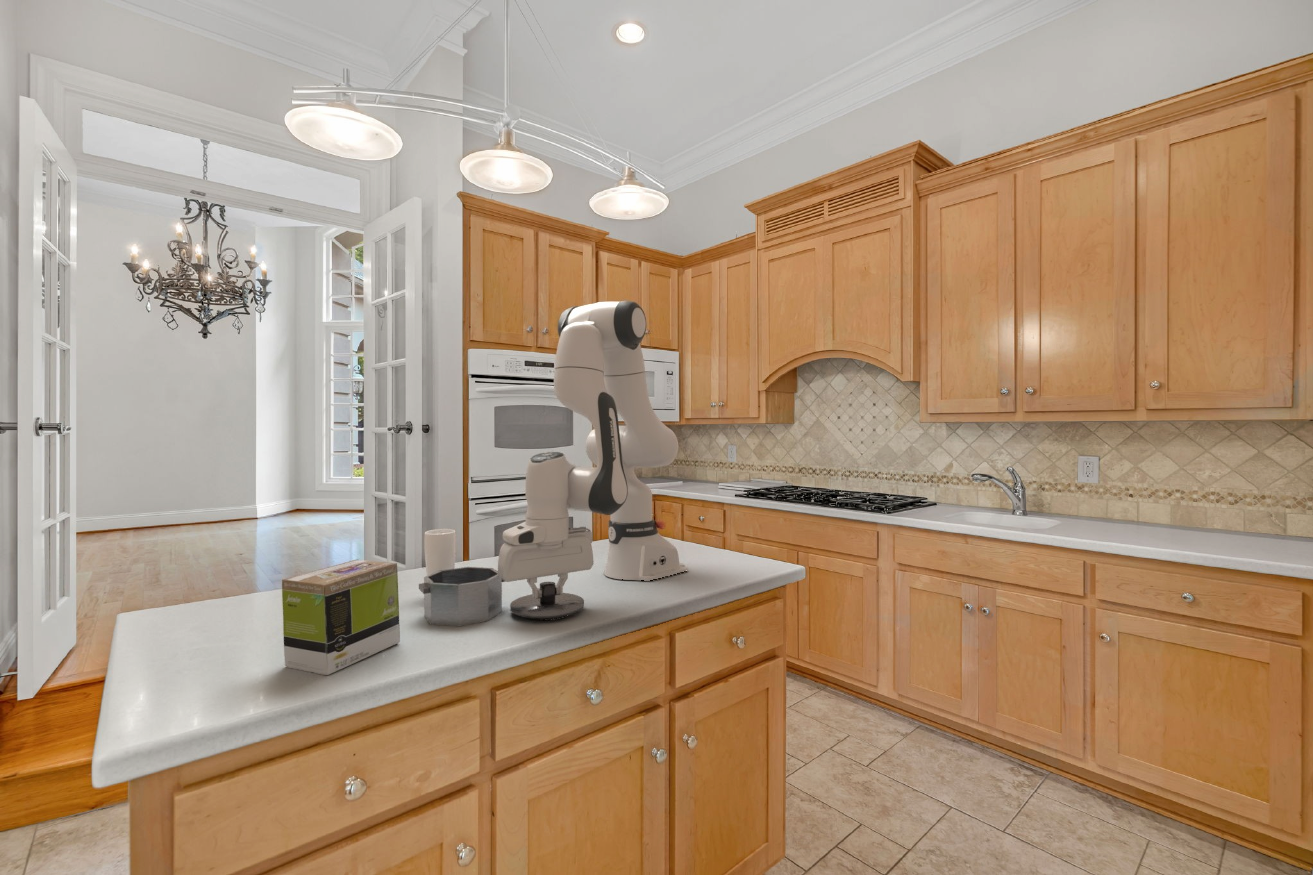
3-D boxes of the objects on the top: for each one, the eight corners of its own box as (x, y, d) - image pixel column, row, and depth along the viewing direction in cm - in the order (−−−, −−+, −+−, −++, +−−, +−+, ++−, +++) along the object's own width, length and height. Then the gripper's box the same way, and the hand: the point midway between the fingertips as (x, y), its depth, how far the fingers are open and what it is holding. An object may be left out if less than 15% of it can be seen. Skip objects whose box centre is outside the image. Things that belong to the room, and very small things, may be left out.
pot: (492, 598, 132) (491, 563, 132) (514, 615, 121) (514, 577, 120) (413, 611, 123) (413, 573, 123) (429, 631, 111) (429, 589, 111)
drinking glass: (461, 593, 137) (460, 529, 137) (448, 601, 130) (447, 534, 130) (433, 592, 138) (433, 528, 137) (419, 601, 131) (418, 533, 131)
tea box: (359, 636, 109) (358, 557, 109) (401, 644, 105) (400, 561, 105) (281, 668, 95) (280, 576, 95) (326, 677, 91) (325, 582, 91)
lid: (565, 597, 134) (565, 571, 134) (596, 615, 121) (596, 586, 121) (500, 608, 125) (499, 580, 125) (526, 629, 113) (526, 598, 112)
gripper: (585, 523, 131) (585, 585, 131) (494, 532, 120) (495, 600, 120) (598, 527, 126) (598, 592, 126) (505, 537, 115) (505, 608, 115)
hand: (547, 596), depth 123 cm, fingers closed on lid, 3 cm apart
